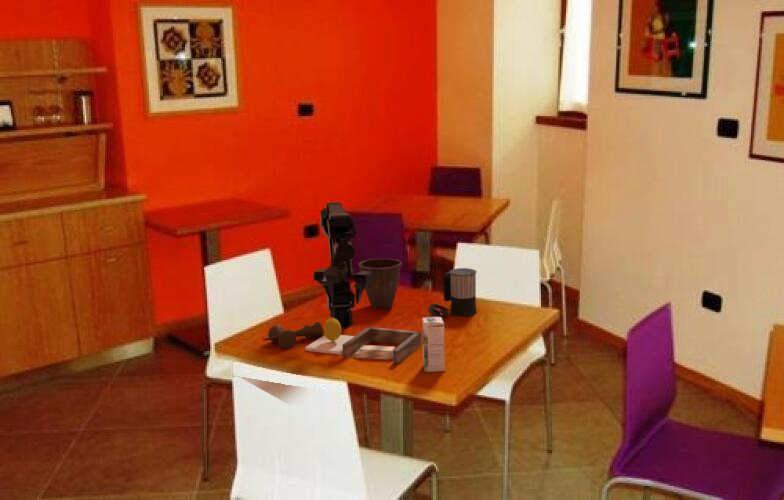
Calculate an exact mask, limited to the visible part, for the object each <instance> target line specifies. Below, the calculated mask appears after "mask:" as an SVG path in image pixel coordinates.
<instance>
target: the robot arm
mask: <svg viewBox="0 0 784 500" xmlns="http://www.w3.org/2000/svg"><path fill="white" fill-rule="evenodd" d="M319 223H320V227H321V228H322V233H323V235H324V236H325V237H326V238H327V240H328V248H329V257H330V258H329V259H330V265H329V266H328V267H326V268H324V267H321V268H319V269H316V270H315V271H314V272H313V275H312V279H313V281H316V282H317V284H320V285H321V286H323V289H324V290H325V292H326V297H327V298H326V303H327V309H328V311H330V318H331V317H333V318H334V319H336V320H338V321H339V323H340V325H341V329H347V328H349V326H351V325H354V323H355V321H354V320H353V319H354V318H353V311H352V309H354V307H355V306H356V305H358V304H359V303H360V300H361V299H362V295H363V292H364V291H365V286H366V284H368V283H370V282H371V281H373V280H374V278H373V274H372V272H369V271H361V272H360V271H359V272H358V273H354V272H355V269H354V268H353V267H352V266H353V265H352V260H354V257H355V252H356V250H355V248H354V245H352V243H351V242H352V241H351V239H355V238H356V236H355V235H357V231H356V230H357V229H356V225H355V224H356V223H355V220H354V218H353V217H351V215H350V214H349V213H348V212H346V210H345V209H344V208H343V207H342V202H339V201H335V202H327V203H325V207H324V208H323V209H321V211H320V214H319ZM350 280H353V281H354V283H355V284H354V285H353V286H354V288H355V293H354V291H353V289H351V283H350Z"/></svg>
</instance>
